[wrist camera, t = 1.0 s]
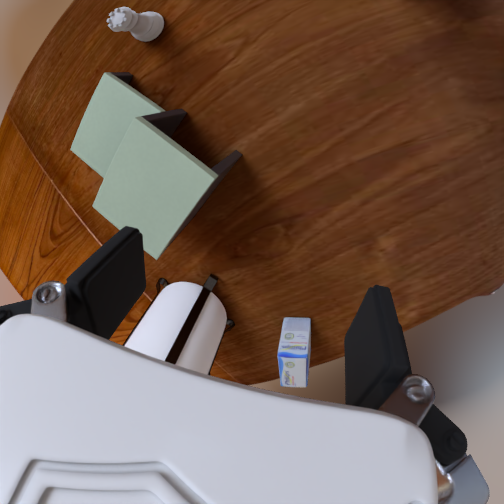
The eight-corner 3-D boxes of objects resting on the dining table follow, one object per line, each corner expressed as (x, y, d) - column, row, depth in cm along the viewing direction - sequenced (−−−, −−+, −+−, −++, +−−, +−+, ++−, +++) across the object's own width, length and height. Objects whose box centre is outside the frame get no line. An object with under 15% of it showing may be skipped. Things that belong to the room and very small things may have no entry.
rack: (128, 72, 31) (73, 73, 22) (242, 154, 35) (214, 179, 25) (93, 140, 37) (42, 160, 28) (191, 219, 41) (156, 260, 31)
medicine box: (310, 348, 49) (307, 388, 42) (286, 348, 50) (279, 387, 43) (310, 316, 45) (308, 357, 38) (283, 316, 46) (276, 357, 39)
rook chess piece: (156, 7, 26) (122, -6, 19) (171, 27, 27) (138, 16, 20) (131, 27, 28) (95, 20, 21) (145, 48, 29) (109, 43, 22)
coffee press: (144, 303, 52) (59, 435, 26) (179, 247, 44) (61, 415, 18) (219, 353, 55) (167, 493, 29) (269, 311, 46) (222, 496, 21)
